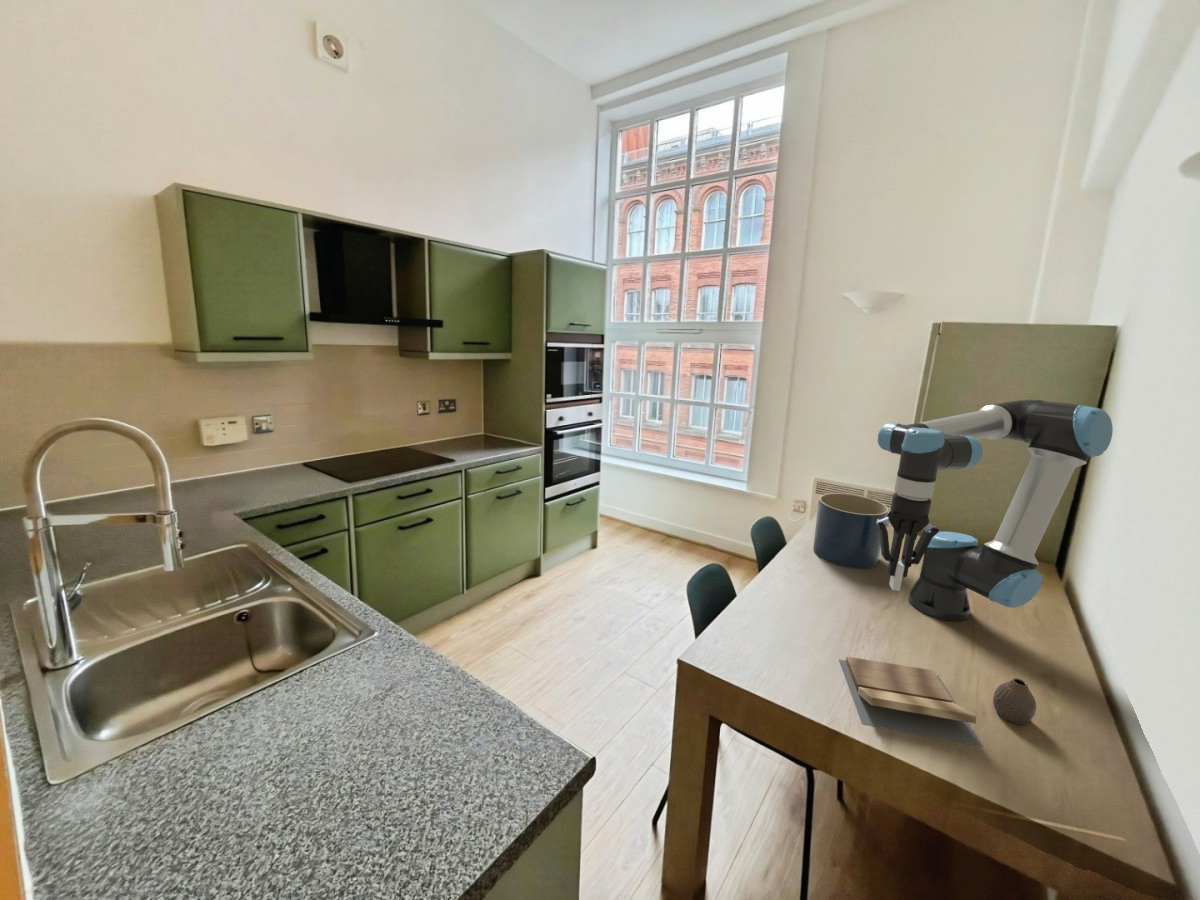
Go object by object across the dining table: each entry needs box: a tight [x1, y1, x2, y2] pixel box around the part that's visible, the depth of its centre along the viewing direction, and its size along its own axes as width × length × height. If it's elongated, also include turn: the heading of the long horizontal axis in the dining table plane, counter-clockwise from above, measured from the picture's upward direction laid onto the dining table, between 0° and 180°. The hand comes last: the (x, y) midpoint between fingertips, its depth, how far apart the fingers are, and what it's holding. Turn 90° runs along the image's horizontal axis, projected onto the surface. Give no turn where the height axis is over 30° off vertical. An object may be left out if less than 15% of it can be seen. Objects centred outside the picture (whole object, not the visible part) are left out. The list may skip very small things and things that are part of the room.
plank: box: [858, 687, 977, 724], centre depth 103 cm, size 19×9×2 cm, turn 77°
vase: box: [992, 677, 1037, 725], centre depth 104 cm, size 7×7×9 cm
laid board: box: [845, 656, 953, 703], centre depth 113 cm, size 19×10×2 cm, turn 77°
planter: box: [813, 492, 890, 570], centre depth 177 cm, size 22×22×20 cm
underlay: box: [838, 659, 984, 748], centre depth 109 cm, size 22×21×1 cm
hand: (894, 587), depth 118 cm, fingers closed
